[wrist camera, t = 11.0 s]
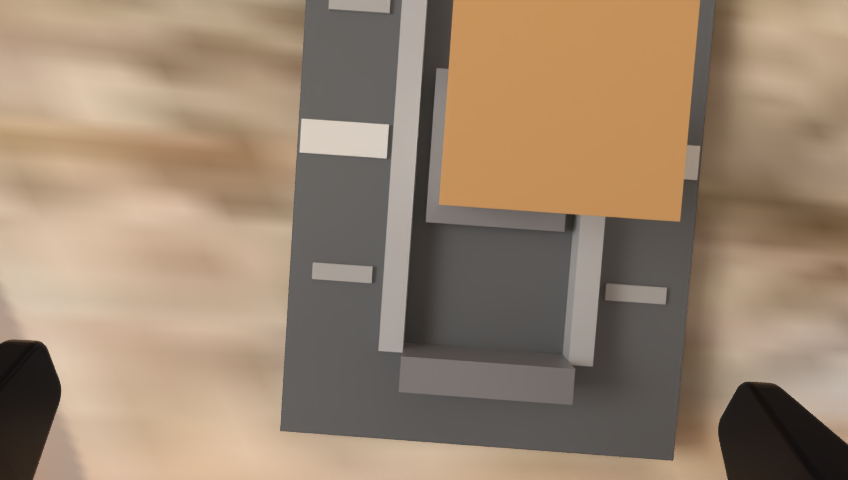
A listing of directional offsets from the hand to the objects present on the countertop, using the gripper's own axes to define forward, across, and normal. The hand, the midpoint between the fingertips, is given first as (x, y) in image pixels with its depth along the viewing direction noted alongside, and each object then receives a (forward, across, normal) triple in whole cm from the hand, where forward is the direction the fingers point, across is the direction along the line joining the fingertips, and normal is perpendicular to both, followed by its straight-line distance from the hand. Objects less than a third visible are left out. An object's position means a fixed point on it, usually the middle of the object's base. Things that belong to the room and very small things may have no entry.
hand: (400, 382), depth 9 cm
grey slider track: (+14, -3, +1) cm, 14 cm away
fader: (+11, -3, +3) cm, 12 cm away
